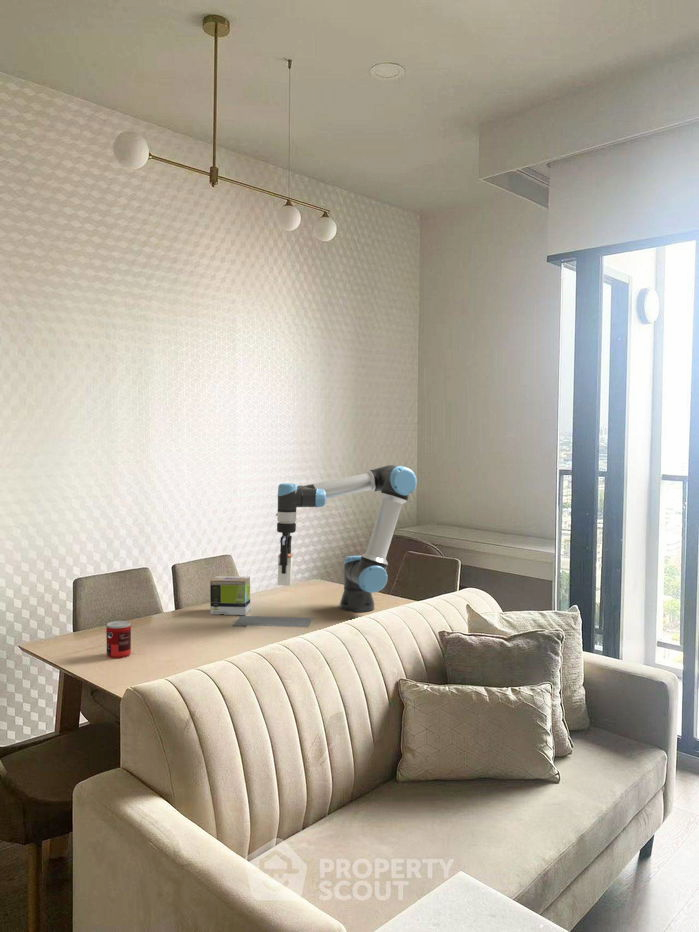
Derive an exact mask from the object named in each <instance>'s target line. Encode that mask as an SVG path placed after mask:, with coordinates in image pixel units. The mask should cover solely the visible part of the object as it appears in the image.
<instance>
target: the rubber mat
mask: <svg viewBox="0 0 699 932" xmlns="http://www.w3.org/2000/svg"><path fill="white" fill-rule="evenodd" d="M313 619H314V618H313V617H301V616H300V617H297V616H294V617H292V616H261V615H239V616H238V618H237V620H235V621H234V623H233V624H232V627H246V626H247V627H249V626H253V627H255V626H256V627H283V628H285V627H290V628H292V627H293V628H309V626H310V625H311V623H312V621H313Z"/></svg>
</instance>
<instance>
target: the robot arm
mask: <svg viewBox="0 0 699 932" xmlns="http://www.w3.org/2000/svg"><path fill="white" fill-rule="evenodd" d="M417 485H418V479H417V476H416V474H415V472H414V471H413V470H412V469H411V468H408V467H406V466H403V465H394V464H393V465H392V464H388V465H385V466H381V467H378V468H374V469H368V470H367V471H366V473H362V474H356V475H351V476H346V477H341V478H335V479H331V480H327V481H321V482H317V483H311V484H307V485H297V483H285V482H284V483H280V484H278V487H277V513H276V514H275V516H276V519H277V520H276V521H277V523H276V532H277V533H280V534H281V536H280V539H279V540H280V541H279V542H280V552H279V554H280V564H279V565H281V575H280V582H287V577H288V565H287V560H288V554H292V541H293V540H292V539H293V538H292V535H291V534H293V533H296V530H297V523H296V522H297V508H324V507H325V506H326V503H327V500H328V499H334V498H339V497H344V496H348V495H352V494H353V495H355V494H359V493H363V492H371V493H375V492H380V495H381V497H382V500H381V503H380V507H379V510H378V513H377V516H376V520H375V523H374V526H373V530H372V532H371V536H370V538H369V539H370V540H369V542H368V546H367V549H366V551H365V553H363V554H362V555H349V556H348V555H347V556H345V558H344V561H343V562H344V563H343V593H342V594H341V599H340V602H339V609H340V610H341V611H347V612H353V613H366V612H371V611H373V610H375V601H374V600H375V599H374V597H373V594H374V593H375V594H376V593H378V592H381V590H383V589H384V588H385V587H386V585H387V584H388V577H389V575H388V574H387V573H388V572H387V568H388V565H389V563H388V561H387V555H388V552H389V550H390V549H389V548H390V546H391V542H392V539H393V535H394V532H395V528H396V527H397V524H398V523H397V522H398V519H399V516H400V514H401V510H402V507H403V504H405V503H407V502H408V499H409V497H410V495H411V494H412V493H414V491H415V490H416V488H417ZM283 561H284V562H283Z"/></svg>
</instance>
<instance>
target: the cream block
mask: <svg viewBox="0 0 699 932" xmlns="http://www.w3.org/2000/svg"><path fill="white" fill-rule="evenodd" d="M293 556H294V554H293V553H291V554H288V560H287V565H288V577H287V582H280V575H281V565H279V564H280V553H279V554H278V556H277V557H278V561H277V563H278V564H277V586H286V587H287V586H288V587H289V586H291V585H292V584H293V563H294V562H293V561H294V560H293V559H294V557H293ZM283 562H284V561H283Z"/></svg>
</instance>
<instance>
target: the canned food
mask: <svg viewBox="0 0 699 932" xmlns="http://www.w3.org/2000/svg"><path fill="white" fill-rule="evenodd" d="M105 630H106V631H105V632H106V637H105V638H106V656H107V658H109V657H110V659H123V657H125V658H128V657H129V656H130V655H131V653H132V650H131V649H132V643H131V642H132V633H131V632H132V626H131V622H130V621H127V620H115V621H109V622H107V624H106V629H105ZM127 656H128V657H127Z"/></svg>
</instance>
